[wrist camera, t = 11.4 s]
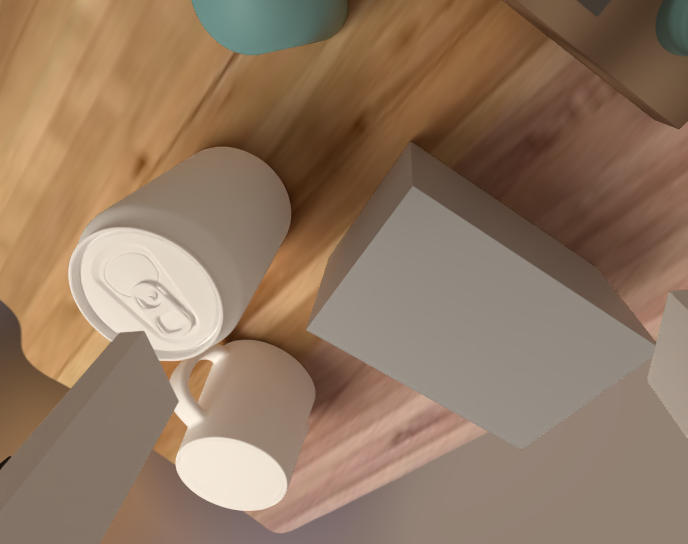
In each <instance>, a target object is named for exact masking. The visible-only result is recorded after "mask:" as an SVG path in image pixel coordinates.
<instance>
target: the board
mask: <svg viewBox="0 0 688 544" xmlns="http://www.w3.org/2000/svg"><path fill="white" fill-rule="evenodd" d="M503 1H504V2H505V3H506V4H508V5H509V6H510V7H511V8H513V9H514V10H515V11H517V12H518V13H519V14H520V15H522V16H523V17H524V18H525V19H527V20H528V21H529V22H531V23H532V24H533V25H534V26H536V27H537V28H538V29H539V30H541V31H542V32H543V33H545V34H546V35H547V36H548V37H550V38H551V39H552V40H553V41H555V42H556V43H557V44H559V45H560V46H561V47H562V48H564V49H565V50H566V51H567V52H569V53H570V54H571V55H573V56H574V57H575V58H576V59H578V60H579V61H580V62H581V63H583V64H584V65H585V66H587V67H588V68H589V69H590V70H592V71H593V72H594V73H596V74H597V75H598V76H599V77H601V78H602V79H603V80H604V81H606V82H607V83H608V84H610V85H611V86H612V87H613V88H615V89H616V90H617V91H618V92H620V93H621V94H622V95H624V96H625V97H626V98H627V99H629V100H630V101H631V102H632V103H634V104H635V105H636V106H638V107H639V108H640V109H641V110H643V111H644V112H645V113H646V114H648V115H649V116H650V117H652V118H653V119H654V120H656V121H659V122H661V123H664V124H667V125H669V126H672V127H674V128H677V129H680V128H681V127H682V126H683V125H684V124H685V123H686V122H687V121H688V0H503Z"/></svg>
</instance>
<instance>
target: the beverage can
mask: <svg viewBox="0 0 688 544" xmlns="http://www.w3.org/2000/svg"><path fill="white" fill-rule="evenodd" d="M290 222H291V205H290V200H289V197H288V194H287V191H286V189H285V187H284V185H283V183H282V181H281V180H280V178H279V177H278V175H277V174H276V173H275V172H274V171H273V170H272V168H271V167H269V166H268V165H267V164H266V163H265V162H264V161H262V160H261V159H259V158H258V157H256V156H254V155H253V154H251V153H248V152H246V151H243V150H240V149H237V148H232V147H212V148H208V149H205V150H202V151H200V152H198V153H196V154H194V155H192V156H191V157H189V158H188V159H186V160H184V161H183V162H181V163H180V164H178V165H176V166H175V167H173V168H172V169H170V170H168V171H167V172H165V173H164V174H162V175H160V176H159V177H157V178H156V179H154V180H152V181H151V182H149V183H148V184H146V185H144V186H143V187H141V188H140V189H138V190H136V191H135V192H133V193H132V194H130V195H128V196H127V197H125V198H124V199H122V200H120V201H119V202H117V203H116V204H114V205H112V206H111V207H109V208H108V209H106V210H104V211H103V212H101V213H100V214H98V215H97V216H96V217H95V218H94V219H93V220H92V221H91V222H90V223H89V224H88V225H87V227H86V228H85V230H84V231H83V233H82V235H81V237H80V239H79V242H78V245H77V247H76V248H75V250H74V252H73V254H72V256H71V259H70V262H69V269H68V278H69V285H70V289H71V292H72V295H73V298H74V300H75V302H76V304H77V306H78V308H79V309H80V311H81V312H82V314H83V315H84V317H85V318H86V319H87V320H88V322H89V323H90V324H91V325H92V326H93V327H94V328H95V329H96V330H97V331H98V332H99V333H100V334H102V335H103V336H104V337H105V338H107V339H108V340H109V341H111V342H112V341H113V340H114V338H115V337H116V336H117V335H118V334H119V333H121V332H134V331H145V333H146V335H147V337H148V339H149V341H150V343H151V345H152V347H153V349H154V351H155V354H156V356H157V358H158V360H161V361H178V360H184V359H189V358H192V357H195V356H197V355H199V354H201V353H203V352H204V351H206V350H207V349H208V348H209V347H211V346H213V345H215V344H217V343H218V342H220V341H221V340H223V339H224V338H225V337H227V336H228V335H229V334H230V333H231V332H232V331H233V329H234V328H235V327H236V325H237V324H238V322H239V320H240V318H241V317H242V315H243V313H244V311H245V309H246V308H247V306H248V304H249V302H250V300H251V299H252V297H253V295H254V293H255V291H256V290H257V288H258V286H259V284H260V282H261V280H262V279H263V277H264V275H265V273H266V271H267V270H268V268H269V266H270V264H271V262H272V261H273V259H274V257H275V255H276V253H277V252H278V250H279V248H280V246H281V244H282V243H283V241H284V239H285V237H286V235H287V233H288V230H289V227H290Z"/></svg>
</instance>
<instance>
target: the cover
mask: <svg viewBox="0 0 688 544" xmlns="http://www.w3.org/2000/svg"><path fill="white" fill-rule="evenodd" d="M306 330H307V331H309V332H311V333H313V334H314V335H316V336H318V337H320V338H322V339H323V340H325V341H327V342H329V343H330V344H332V345H334V346H336V347H338V348H339V349H341V350H343V351H345V352H347V353H348V354H350V355H352V356H354V357H356V358H357V359H359V360H361V361H363V362H365V363H366V364H368V365H370V366H372V367H373V368H375V369H377V370H379V371H381V372H382V373H384V374H386V375H388V376H390V377H391V378H393V379H395V380H397V381H399V382H400V383H402V384H404V385H406V386H408V387H409V388H411V389H413V390H415V391H417V392H418V393H420V394H422V395H424V396H425V397H427V398H429V399H431V400H433V401H434V402H436V403H438V404H440V405H442V406H443V407H445V408H447V409H449V410H451V411H452V412H454V413H456V414H458V415H460V416H461V417H463V418H465V419H467V420H468V421H470V422H472V423H474V424H476V425H477V426H479V427H481V428H483V429H485V430H486V431H488V432H490V433H492V434H494V435H495V436H497V437H499V438H501V439H503V440H504V441H506V442H508V443H510V444H512V445H513V446H515V447H517V448H519V449H521V450H522V449H523V448H525V447H526V446H528V445H529V444H530V443H532V442H533V441H534V440H536V439H538V438H539V437H540V436H542V435H543V434H545V433H546V432H547V431H549V430H550V429H552V428H553V427H554V426H556V425H557V424H559V423H560V422H561V421H563V420H564V419H566V418H567V417H568V416H570V415H571V414H573V413H574V412H575V411H577V410H578V409H580V408H581V407H583V406H584V405H585V404H587V403H588V402H590V401H591V400H592V399H594V398H595V397H597V396H598V395H599V394H601V393H602V392H604V391H605V390H607V389H608V388H609V387H611V386H612V385H614V384H615V383H616V382H618V381H619V380H620V379H622V378H623V377H625V376H626V375H628V374H629V373H630V372H632V371H633V370H635V369H636V368H637V367H639V366H640V365H642V364H643V363H644V362H646V361H647V360H649V359H650V358H652V357H653V354H654V350H655V346H656V342H655V340H654V339H653V338H652V336H651V335H650V334H649V333H648V331H647V330H646V329H645V328H644V326H643V325H642V324H641V323H640V321H639V320H638V319H637V318H636V316H635V315H634V314H633V312H632V311H631V310H630V309H629V307H628V306H627V305H626V304H625V302H624V301H623V300H622V299H621V297H620V296H619V295H618V294H617V292H616V291H615V290H614V288H613V287H612V286H611V285H610V283H609V282H608V281H607V280H606V278H605V277H604V276H603V275H602V273H601V272H600V271H599V270H598V268H597V267H595V266H594V265H592V264H591V263H589V262H588V261H586V260H585V259H583V258H582V257H580V256H579V255H578V254H576V253H575V252H573V251H572V250H570V249H569V248H567V247H566V246H564V245H563V244H561V243H560V242H558V241H557V240H555V239H554V238H552V237H551V236H550V235H548V234H547V233H545V232H544V231H542V230H541V229H539V228H538V227H536V226H535V225H533V224H532V223H530V222H529V221H527V220H526V219H525V218H523V217H522V216H520V215H519V214H517V213H516V212H514V211H513V210H511V209H510V208H508V207H507V206H505V205H504V204H502V203H501V202H500V201H498V200H497V199H495V198H494V197H492V196H491V195H489V194H488V193H486V192H485V191H483V190H482V189H480V188H479V187H477V186H476V185H474V184H473V183H472V182H470V181H469V180H467V179H466V178H464V177H463V176H461V175H460V174H458V173H457V172H455V171H454V170H452V169H451V168H449V167H448V166H447V165H445V164H444V163H442V162H441V161H439V160H438V159H436V158H435V157H433V156H432V155H430V154H429V153H427V152H426V151H424V150H423V149H422V148H420V147H419V146H417V145H416V144H414V143H413V142H411V141H410V142H409V143H408V145H407V146H406V148H405V149H404V151H403V152H402V153H401V155H400V156H399V158H398V159H397V161H396V162H395V164H394V165H393V166H392V168H391V169H390V171H389V172H388V174H387V175H386V176H385V178H384V179H383V181H382V182H381V184H380V185H379V187H378V188H377V189H376V191H375V192H374V194H373V195H372V197H371V198H370V199H369V201H368V202H367V204H366V205H365V207H364V208H363V210H362V211H361V212H360V214H359V215H358V217H357V218H356V220H355V221H354V222H353V224H352V225H351V227H350V228H349V230H348V231H347V233H346V234H345V235H344V237H343V238H342V240H341V241H340V243H339V244H338V245H337V247H336V248H335V250H334V251H333V253H332V254H331V256H330V257H329V259H328V262H327V265H326V268H325V272H324V275H323V278H322V281H321V284H320V287H319V290H318V294H317V297H316V300H315V303H314V306H313V309H312V312H311V316H310V319H309V322H308V325H307V328H306Z"/></svg>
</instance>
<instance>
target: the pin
mask: <svg viewBox="0 0 688 544" xmlns="http://www.w3.org/2000/svg"><path fill="white" fill-rule="evenodd" d="M192 4H193V7H194V9H195V12H196V14H197V16H198V18H199V20H200V22H201V23H202V25H203V26H204V28H205V29H206V31H207V32H208V33H209V34H210V35H211V36H212V37H213V38H214V39H215V40H216V41H217V42H218V43H220V44H221V45H222V46H224V47H226V48H227V49H229V50H231V51H234V52H236V53H240V54H244V55H259V54H264V53H269V52H274V51H278V50H283V49H287V48H292V47H296V46H301V45H306V44H310V43H315V42H319V41H324V40H327V39H329V38H331V37H332V36H334V35H335V34H336V33H337V32H338V31H339V30H340V29H341V27H342V26H343V24H344V22H345V19H346V16H347V12H348V0H192Z"/></svg>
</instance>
